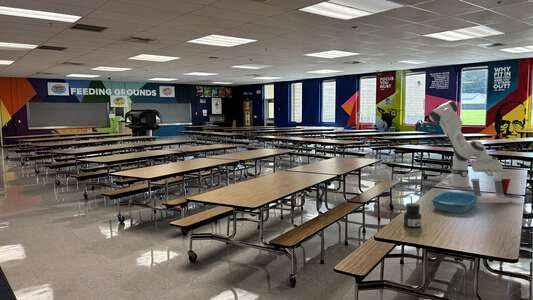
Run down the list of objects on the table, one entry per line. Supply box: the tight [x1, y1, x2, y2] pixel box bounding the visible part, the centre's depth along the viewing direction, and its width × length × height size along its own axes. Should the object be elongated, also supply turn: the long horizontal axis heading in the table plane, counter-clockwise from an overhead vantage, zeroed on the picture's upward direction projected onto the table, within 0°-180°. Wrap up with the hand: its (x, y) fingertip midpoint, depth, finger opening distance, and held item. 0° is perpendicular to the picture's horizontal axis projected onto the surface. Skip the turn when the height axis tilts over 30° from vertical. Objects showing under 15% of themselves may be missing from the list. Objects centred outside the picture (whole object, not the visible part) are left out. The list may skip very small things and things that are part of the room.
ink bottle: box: [403, 202, 422, 229], centre depth 206 cm, size 10×9×12 cm
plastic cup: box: [494, 176, 512, 194], centre depth 286 cm, size 11×11×12 cm
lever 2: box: [493, 177, 505, 196], centre depth 264 cm, size 2×4×12 cm, turn 91°
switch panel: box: [470, 193, 512, 204], centre depth 263 cm, size 14×22×3 cm, turn 92°
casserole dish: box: [431, 191, 478, 214], centre depth 244 cm, size 37×22×7 cm, turn 137°
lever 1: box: [470, 178, 482, 196], centre depth 263 cm, size 2×4×12 cm, turn 92°
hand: (490, 175), depth 270 cm, fingers closed
